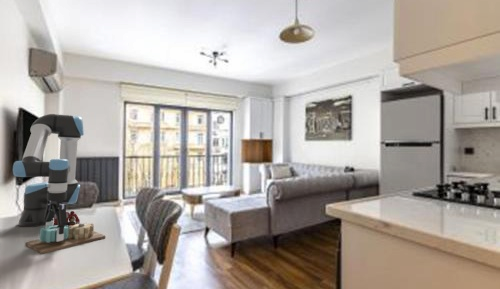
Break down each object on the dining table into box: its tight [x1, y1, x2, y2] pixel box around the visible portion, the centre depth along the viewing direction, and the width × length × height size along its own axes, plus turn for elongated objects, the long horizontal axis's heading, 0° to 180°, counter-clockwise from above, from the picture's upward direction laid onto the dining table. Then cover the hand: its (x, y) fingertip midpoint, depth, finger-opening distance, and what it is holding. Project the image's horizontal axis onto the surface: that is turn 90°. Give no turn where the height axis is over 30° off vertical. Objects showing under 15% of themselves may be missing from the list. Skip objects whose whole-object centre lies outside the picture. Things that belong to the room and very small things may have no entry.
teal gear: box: [39, 225, 69, 243], centre depth 128 cm, size 11×11×5 cm
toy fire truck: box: [53, 210, 81, 229], centre depth 148 cm, size 7×12×10 cm, turn 135°
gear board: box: [25, 222, 106, 255], centre depth 133 cm, size 17×28×7 cm, turn 147°
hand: (54, 238), depth 127 cm, fingers closed on teal gear, 11 cm apart
